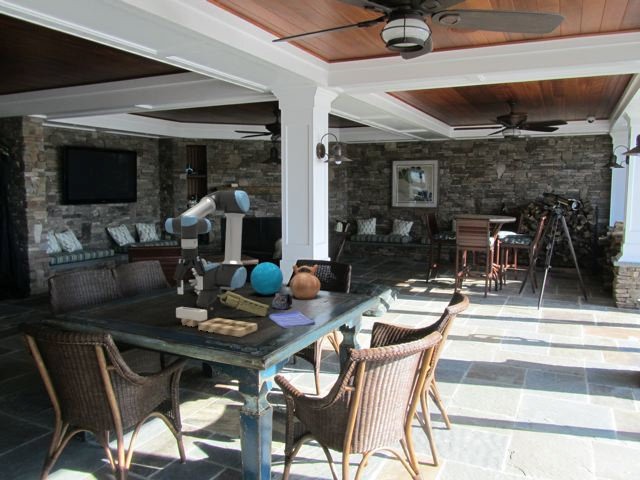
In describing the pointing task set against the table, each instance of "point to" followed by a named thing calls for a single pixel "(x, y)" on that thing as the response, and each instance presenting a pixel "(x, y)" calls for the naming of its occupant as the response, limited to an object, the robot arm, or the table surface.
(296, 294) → the jug
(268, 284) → the decorative sphere
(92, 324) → the table surface
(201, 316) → the strip
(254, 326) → the board
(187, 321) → the stand
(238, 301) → the handgun
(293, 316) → the dish towel
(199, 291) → the abstract sculpture
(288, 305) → the rock
